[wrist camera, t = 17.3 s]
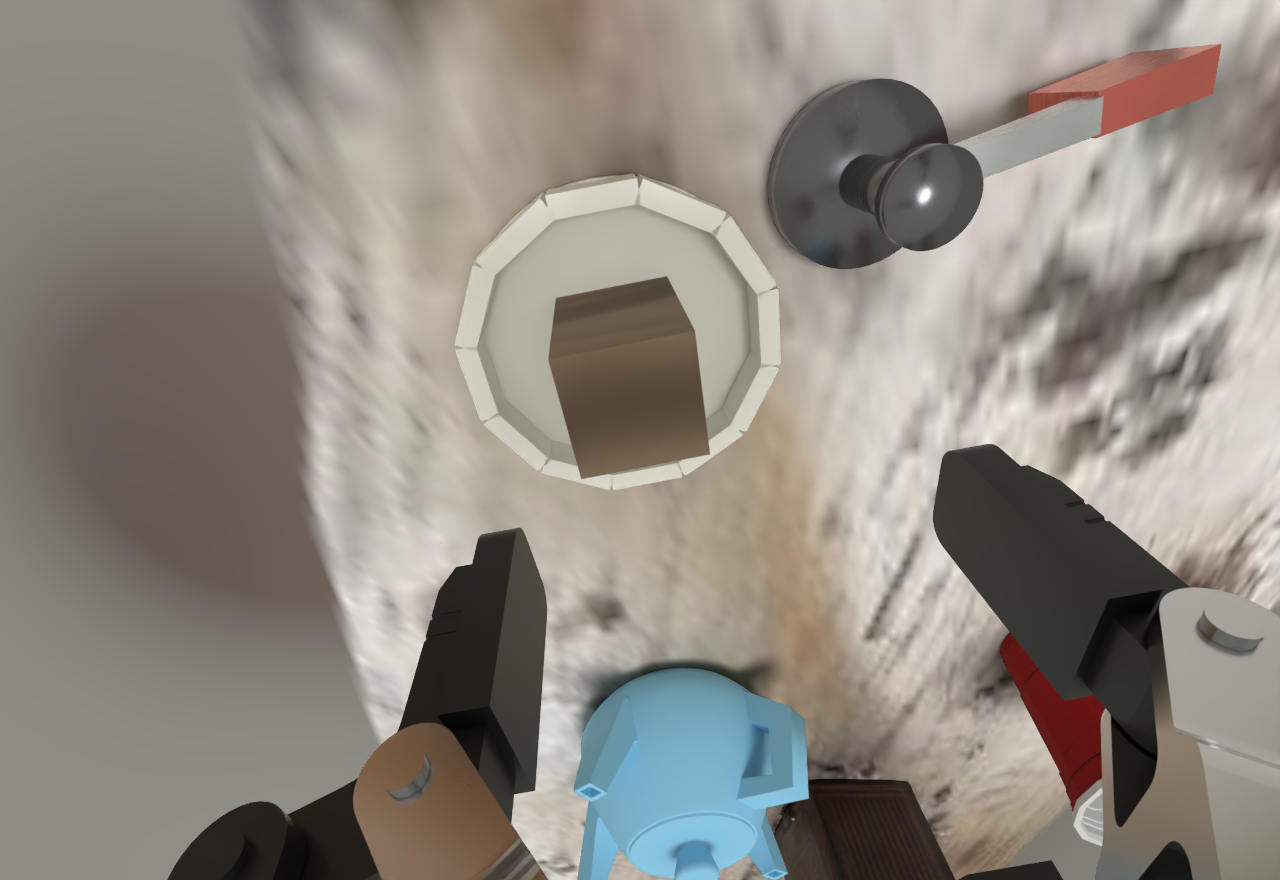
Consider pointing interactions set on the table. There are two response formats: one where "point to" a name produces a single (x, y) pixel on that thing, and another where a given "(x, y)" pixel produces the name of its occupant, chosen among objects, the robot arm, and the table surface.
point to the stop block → (628, 377)
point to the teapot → (687, 776)
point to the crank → (1098, 104)
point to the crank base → (870, 176)
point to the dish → (601, 258)
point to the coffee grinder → (859, 834)
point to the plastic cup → (1065, 737)
